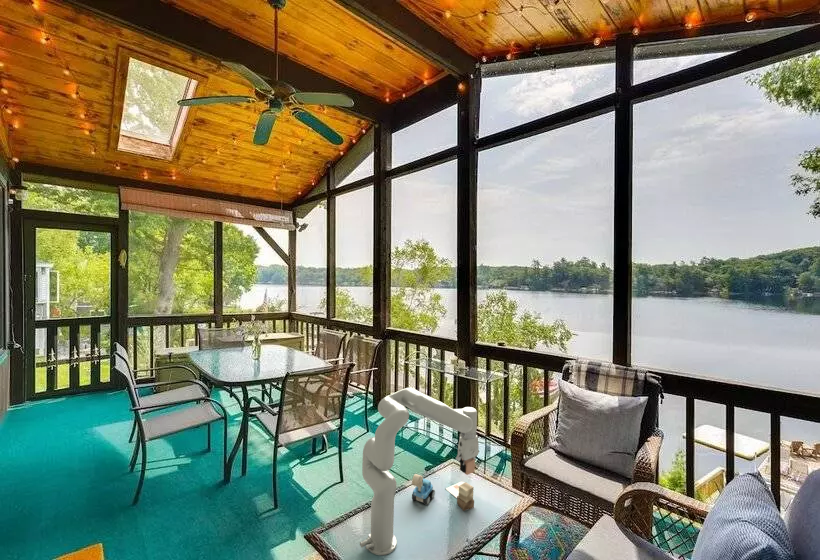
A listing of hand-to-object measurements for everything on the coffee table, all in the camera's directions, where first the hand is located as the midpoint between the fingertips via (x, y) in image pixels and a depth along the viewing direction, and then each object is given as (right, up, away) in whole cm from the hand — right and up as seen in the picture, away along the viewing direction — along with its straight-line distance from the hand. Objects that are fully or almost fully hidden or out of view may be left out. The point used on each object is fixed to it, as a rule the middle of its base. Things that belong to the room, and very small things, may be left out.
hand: (467, 469), depth 184 cm
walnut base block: (-1, -19, +1) cm, 19 cm away
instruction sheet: (-2, -17, +14) cm, 22 cm away
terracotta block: (0, -1, 0) cm, 1 cm away
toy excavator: (-23, -18, +3) cm, 29 cm away
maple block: (-1, -15, +1) cm, 15 cm away
